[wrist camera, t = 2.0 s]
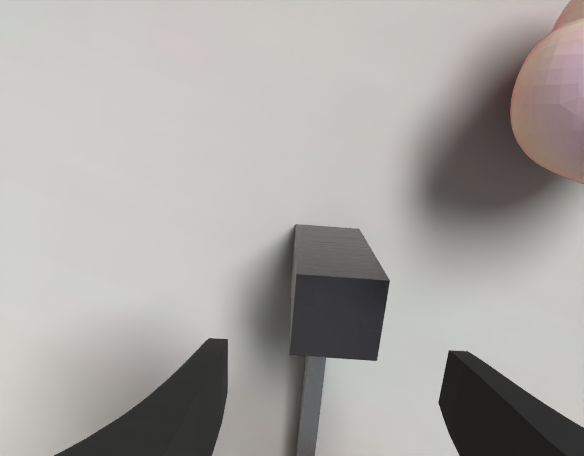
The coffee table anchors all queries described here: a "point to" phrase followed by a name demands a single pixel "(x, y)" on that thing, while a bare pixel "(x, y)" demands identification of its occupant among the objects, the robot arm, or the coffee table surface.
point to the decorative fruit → (554, 98)
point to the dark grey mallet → (332, 310)
